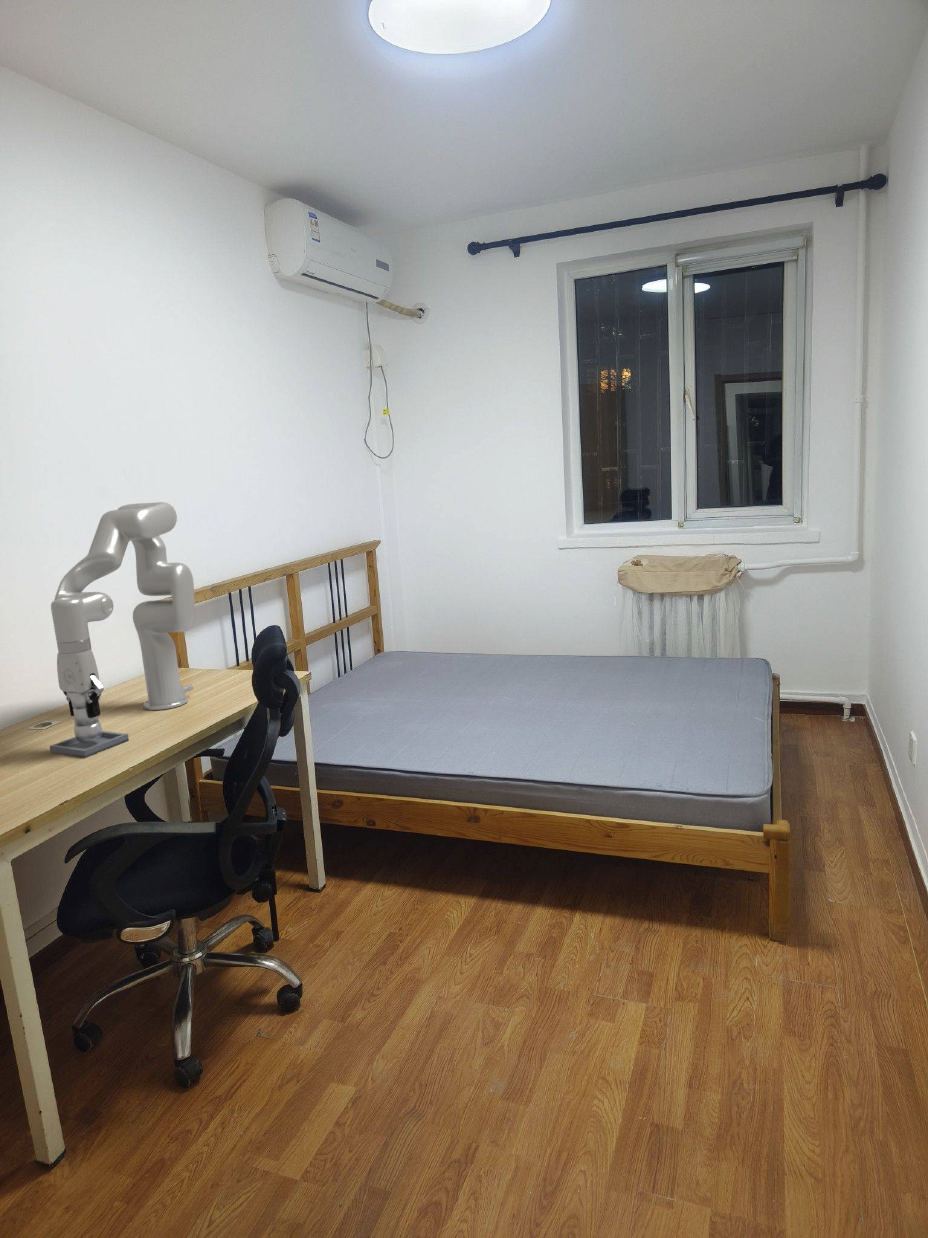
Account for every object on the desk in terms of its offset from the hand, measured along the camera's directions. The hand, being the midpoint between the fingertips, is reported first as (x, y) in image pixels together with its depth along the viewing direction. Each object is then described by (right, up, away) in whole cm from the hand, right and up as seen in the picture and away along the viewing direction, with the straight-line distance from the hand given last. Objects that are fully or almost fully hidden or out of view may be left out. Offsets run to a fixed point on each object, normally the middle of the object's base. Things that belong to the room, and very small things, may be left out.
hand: (85, 715), depth 200 cm
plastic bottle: (0, -7, +1) cm, 7 cm away
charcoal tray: (+1, -8, +1) cm, 8 cm away
